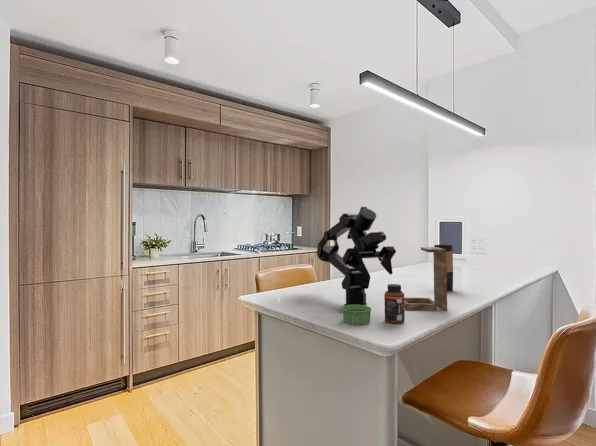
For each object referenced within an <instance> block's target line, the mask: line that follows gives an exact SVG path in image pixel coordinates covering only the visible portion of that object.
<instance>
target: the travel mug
mask: <svg viewBox="0 0 596 446" xmlns="http://www.w3.org/2000/svg"><path fill="white" fill-rule="evenodd" d="M433 247H439V248H443V249H446V262H447V293H451V292H454V291H453V288H454V287H453V286H454V253H453V252H454V251H453V245H452V244H434V246H433Z"/></svg>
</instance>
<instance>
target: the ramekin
mask: <svg viewBox="0 0 596 446" xmlns="http://www.w3.org/2000/svg"><path fill="white" fill-rule="evenodd" d="M341 310H342V319H343V322H344V323H345V324H348V325H352V326H365V325H368V324H370V322H371V311H372V308H371V307H370V306H368V305H346V306H344V305H343V306H342V307H341Z"/></svg>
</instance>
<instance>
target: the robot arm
mask: <svg viewBox="0 0 596 446" xmlns="http://www.w3.org/2000/svg"><path fill="white" fill-rule="evenodd" d="M376 218H377V214H376V212H375V211H373V210H372V209H369V208H368V207H367V206H361V207H360V209H359V211H358V212H357V213H355V212H350V213H349V212H348V213H347V212H346V213H342V214H341V215H340V217H339V219H338V220H339V222H337V223H336V224H335V225H333V226H332V227H331V228H329V229H328V230H326V231H324V233H323V235H322V236H323V237H322V238H321V240H320V241H319V242H318V244H317V249H316V255H317V256H316V257H317V258H318V260H320V261H322V262H327V263H330V264H331V265H332V266H333V267H334V268H336V269H337V270H338V271H339V272H340V273H341V274H342V275H344V278H343V280H342V281H341V288H342V289H343V290H345V303H344V304H343V306H346V305H365V306H368V304H367V293H366V291H365V290H368V289H369V286H370V281H371V275H370V272H369V271H368V269H367V267H366V264H365V263H364V261H363V259H375V258H378V261H379V263H380V265H381V266H382V267H383V268H384V269H385V270H386V272H387V273H388V274H389V275H392V274H393V266H392V259H393V257H394V256H395V254H396V253H397V250H396V249H395V247H394V246H382V248H381V250H380V251H379V250H378V251H377V249H379V246H380V245H379V244H381V243H384V242H385V241H386V240H387V236H386V233H385V232H384V231H376V232H375V231H374V232H369V233H367V231H369V230H371V228H372V226H373V224H374V222H375V220H376ZM347 232H348V234H347V236H346V237H347V238H346V239H347V240H352V242H353V245H354V246H353V247H351V248H350V247H349V248H347V249H346V250H345V252H344V254H343V255H342V256H341V255H340V254H339V249H340V246H339V243H338V238H339V237H341V236H343V234H346V233H347ZM329 241H333V243H334V245H331V246H330V245H329V246H325V245H326V244H327V243H328V242H329Z"/></svg>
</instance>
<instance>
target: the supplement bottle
mask: <svg viewBox="0 0 596 446" xmlns="http://www.w3.org/2000/svg"><path fill="white" fill-rule="evenodd" d="M383 298H384V321H385V322H386V323H389V324H395V325H397V324H399V325H400V324H403V323H405V320H406V318H405V314H406V313H405V311H406V309H405V308H404V307H405V306H404V304H405V303H404V298H405V293H404V292H403V291H402V285H401V284H397V283H390V284H389V283H388V284H387V290H386V291H385V292H384V297H383Z"/></svg>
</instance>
